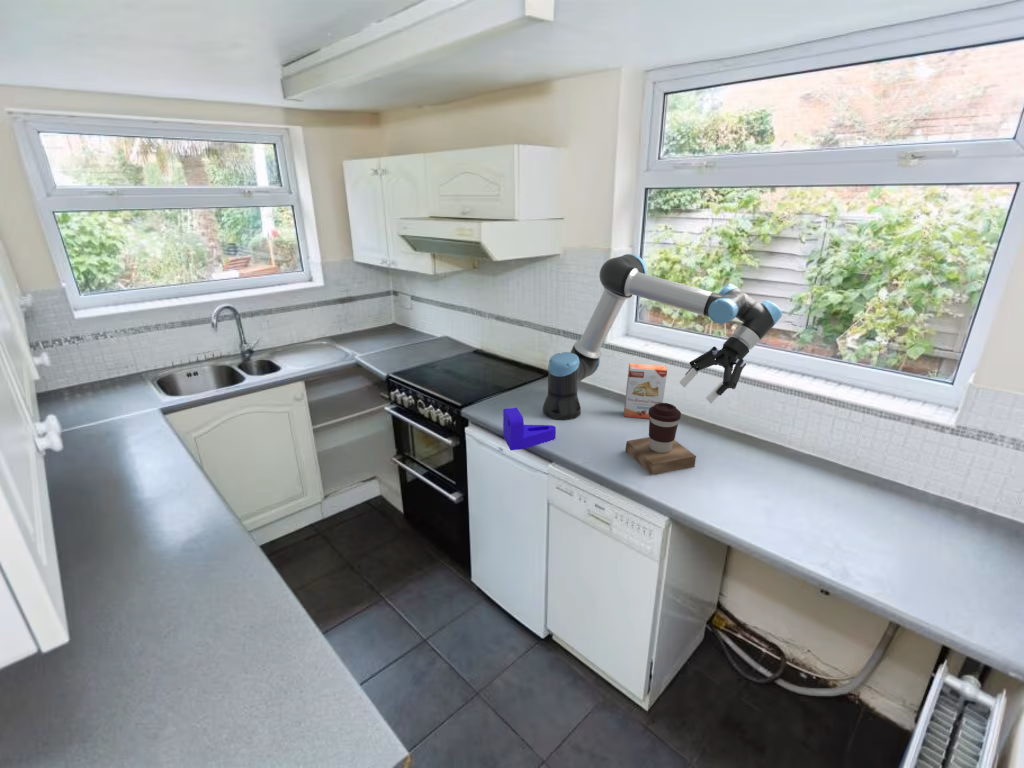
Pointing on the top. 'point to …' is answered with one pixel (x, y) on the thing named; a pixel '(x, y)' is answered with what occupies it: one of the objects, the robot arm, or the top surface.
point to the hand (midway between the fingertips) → (694, 392)
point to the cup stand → (660, 456)
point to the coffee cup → (663, 426)
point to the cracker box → (644, 389)
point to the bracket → (524, 431)
